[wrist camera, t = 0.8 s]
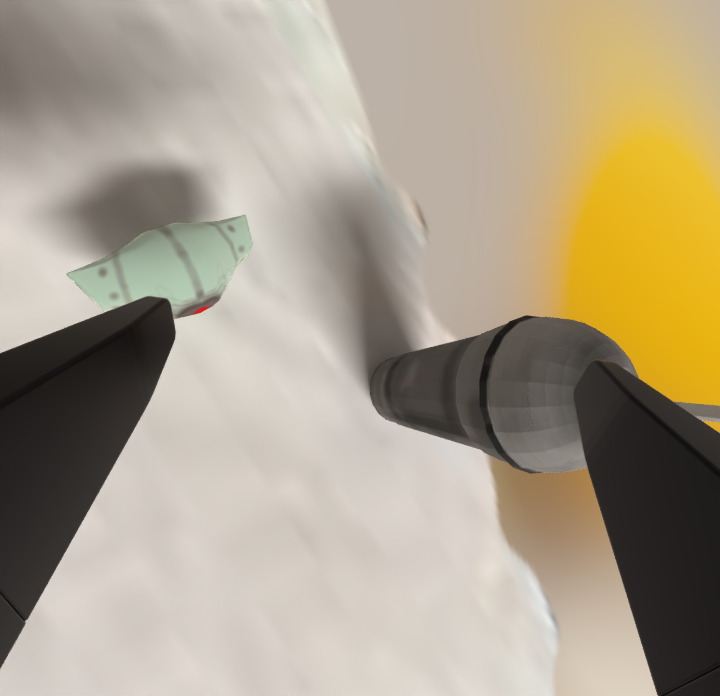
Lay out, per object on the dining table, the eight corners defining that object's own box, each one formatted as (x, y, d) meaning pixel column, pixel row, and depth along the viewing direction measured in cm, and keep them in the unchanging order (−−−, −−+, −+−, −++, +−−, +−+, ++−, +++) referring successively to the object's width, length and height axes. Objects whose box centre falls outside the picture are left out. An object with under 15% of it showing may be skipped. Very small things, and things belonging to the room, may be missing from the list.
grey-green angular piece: (219, 231, 25) (250, 183, 19) (252, 296, 25) (291, 270, 19) (69, 282, 21) (48, 242, 15) (111, 356, 22) (107, 347, 16)
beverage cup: (452, 411, 32) (846, 444, 15) (378, 463, 29) (776, 587, 11) (416, 321, 31) (792, 243, 14) (335, 365, 28) (698, 334, 10)
